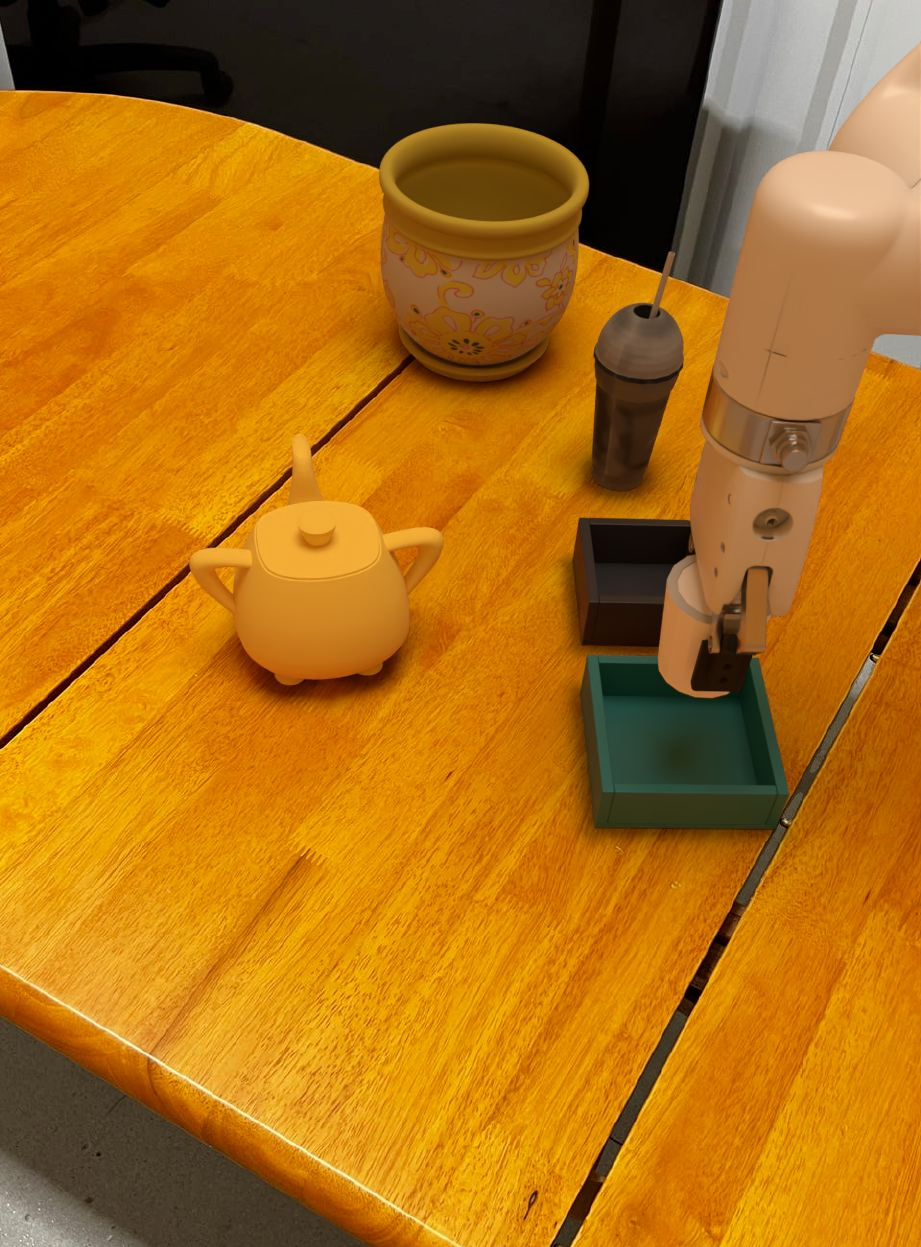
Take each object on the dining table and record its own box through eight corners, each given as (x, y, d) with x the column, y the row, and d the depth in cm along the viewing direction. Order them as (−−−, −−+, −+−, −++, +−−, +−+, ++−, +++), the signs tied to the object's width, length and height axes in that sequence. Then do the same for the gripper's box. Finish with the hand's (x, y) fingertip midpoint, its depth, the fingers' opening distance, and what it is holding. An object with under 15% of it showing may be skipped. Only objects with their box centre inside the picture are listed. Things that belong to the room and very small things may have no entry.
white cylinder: (734, 625, 86) (758, 546, 80) (765, 700, 82) (793, 621, 76) (636, 634, 85) (654, 554, 79) (663, 710, 81) (684, 631, 75)
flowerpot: (591, 390, 117) (617, 217, 104) (402, 410, 114) (404, 235, 101) (537, 285, 127) (555, 115, 114) (362, 301, 124) (359, 128, 111)
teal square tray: (746, 694, 95) (759, 657, 92) (774, 829, 87) (790, 794, 84) (580, 692, 94) (586, 654, 91) (594, 827, 87) (602, 792, 83)
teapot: (451, 618, 98) (459, 496, 89) (348, 734, 91) (344, 615, 81) (305, 550, 102) (298, 426, 93) (194, 656, 94) (173, 533, 85)
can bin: (688, 563, 103) (699, 519, 100) (704, 647, 98) (716, 604, 94) (572, 560, 103) (578, 517, 99) (581, 645, 97) (589, 602, 93)
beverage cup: (563, 455, 111) (594, 235, 95) (639, 442, 113) (681, 224, 97) (593, 507, 107) (631, 287, 91) (672, 493, 109) (722, 275, 93)
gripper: (880, 517, 62) (787, 749, 76) (813, 319, 73) (742, 555, 87) (730, 513, 62) (665, 747, 76) (685, 314, 72) (634, 553, 86)
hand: (706, 643), depth 81 cm, fingers closed on white cylinder, 6 cm apart
